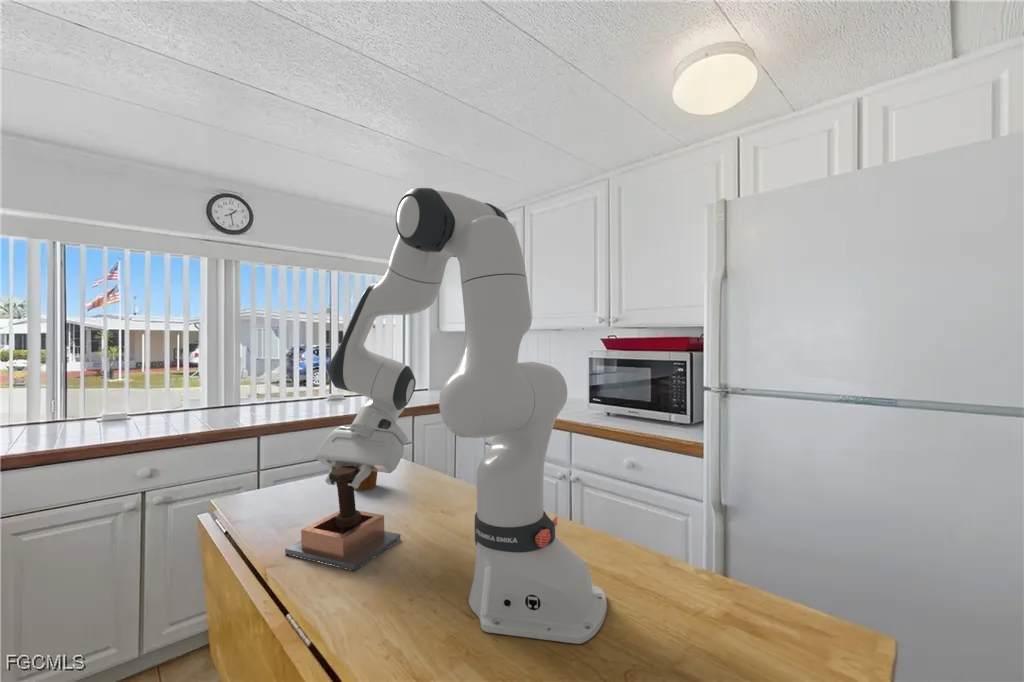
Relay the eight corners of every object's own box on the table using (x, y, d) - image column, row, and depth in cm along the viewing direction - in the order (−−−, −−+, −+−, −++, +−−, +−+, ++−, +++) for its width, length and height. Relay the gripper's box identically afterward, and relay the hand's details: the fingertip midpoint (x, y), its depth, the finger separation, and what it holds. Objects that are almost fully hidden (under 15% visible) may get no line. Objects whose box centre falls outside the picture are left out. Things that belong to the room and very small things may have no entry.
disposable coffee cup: (349, 495, 126) (347, 452, 126) (346, 485, 135) (345, 444, 135) (384, 489, 130) (383, 447, 130) (379, 480, 139) (378, 441, 139)
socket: (400, 539, 98) (400, 515, 98) (354, 571, 85) (353, 543, 85) (336, 526, 105) (336, 504, 105) (285, 554, 92) (284, 529, 92)
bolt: (355, 546, 93) (348, 474, 92) (332, 546, 93) (325, 475, 92) (367, 532, 98) (361, 464, 97) (345, 531, 99) (339, 465, 98)
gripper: (329, 418, 105) (295, 472, 96) (401, 423, 97) (371, 483, 88) (344, 433, 109) (312, 486, 101) (414, 440, 101) (386, 498, 92)
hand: (340, 485), depth 94 cm, fingers closed on bolt, 5 cm apart
